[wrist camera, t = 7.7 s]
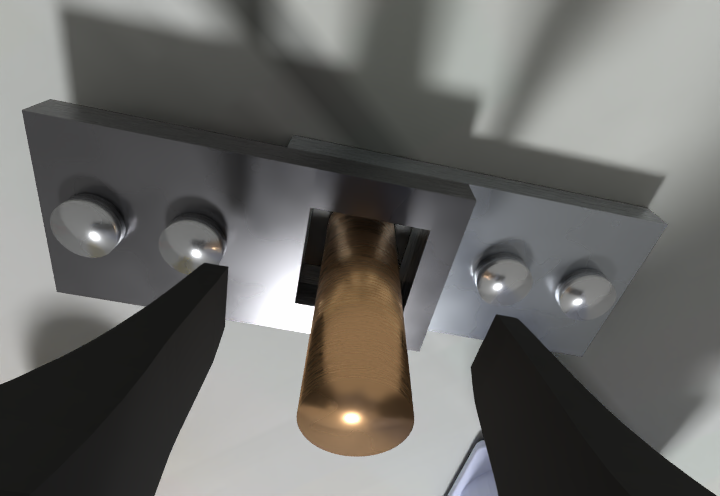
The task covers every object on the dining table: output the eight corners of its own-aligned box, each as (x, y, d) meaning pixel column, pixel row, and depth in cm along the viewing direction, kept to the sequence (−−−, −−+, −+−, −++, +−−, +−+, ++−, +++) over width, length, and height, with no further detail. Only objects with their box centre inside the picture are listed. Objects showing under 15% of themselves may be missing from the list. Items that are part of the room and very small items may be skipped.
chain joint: (647, 207, 15) (704, 254, 13) (569, 335, 18) (602, 393, 16) (74, 90, 13) (5, 116, 11) (95, 252, 17) (45, 303, 14)
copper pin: (402, 208, 15) (429, 392, 9) (384, 263, 17) (396, 463, 10) (334, 192, 15) (307, 370, 8) (321, 250, 16) (288, 446, 10)
